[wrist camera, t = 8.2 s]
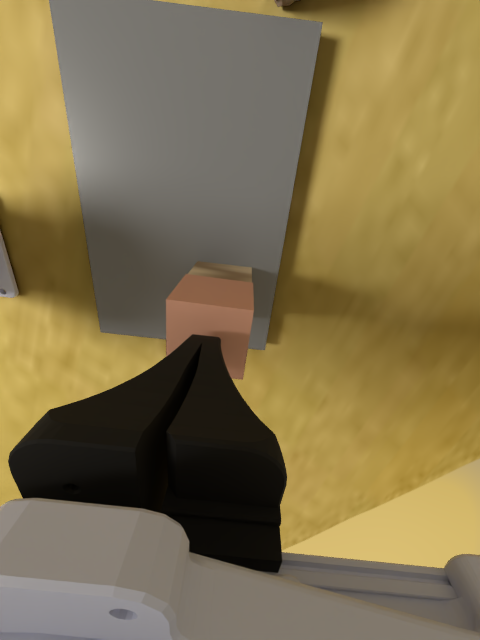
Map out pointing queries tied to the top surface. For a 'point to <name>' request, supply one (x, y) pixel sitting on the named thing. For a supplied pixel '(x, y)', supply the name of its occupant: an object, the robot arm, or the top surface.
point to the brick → (284, 2)
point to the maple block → (222, 271)
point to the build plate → (181, 146)
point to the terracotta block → (212, 316)
